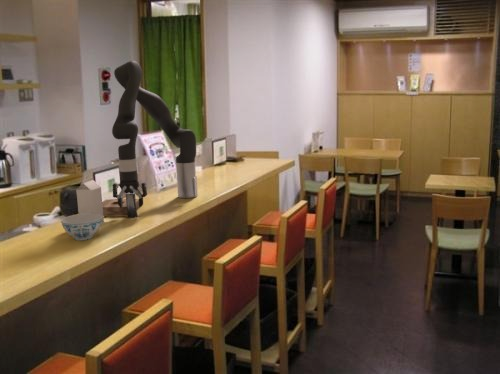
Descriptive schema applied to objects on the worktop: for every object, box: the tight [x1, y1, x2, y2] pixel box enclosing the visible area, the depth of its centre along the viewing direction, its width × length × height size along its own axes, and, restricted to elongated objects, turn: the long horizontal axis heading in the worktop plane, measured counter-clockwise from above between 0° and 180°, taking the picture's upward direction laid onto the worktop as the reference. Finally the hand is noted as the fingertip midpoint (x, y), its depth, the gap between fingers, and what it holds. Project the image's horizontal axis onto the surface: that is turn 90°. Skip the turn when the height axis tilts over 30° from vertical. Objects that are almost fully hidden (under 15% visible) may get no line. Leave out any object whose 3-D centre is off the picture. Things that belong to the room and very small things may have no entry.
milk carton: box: [75, 176, 105, 224], centre depth 240 cm, size 7×7×19 cm
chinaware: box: [60, 213, 103, 241], centre depth 220 cm, size 15×15×8 cm
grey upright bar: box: [125, 193, 138, 219], centre depth 250 cm, size 4×4×10 cm
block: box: [102, 198, 141, 217], centre depth 261 cm, size 16×16×4 cm
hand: (130, 206), depth 250 cm, fingers open, 8 cm apart
